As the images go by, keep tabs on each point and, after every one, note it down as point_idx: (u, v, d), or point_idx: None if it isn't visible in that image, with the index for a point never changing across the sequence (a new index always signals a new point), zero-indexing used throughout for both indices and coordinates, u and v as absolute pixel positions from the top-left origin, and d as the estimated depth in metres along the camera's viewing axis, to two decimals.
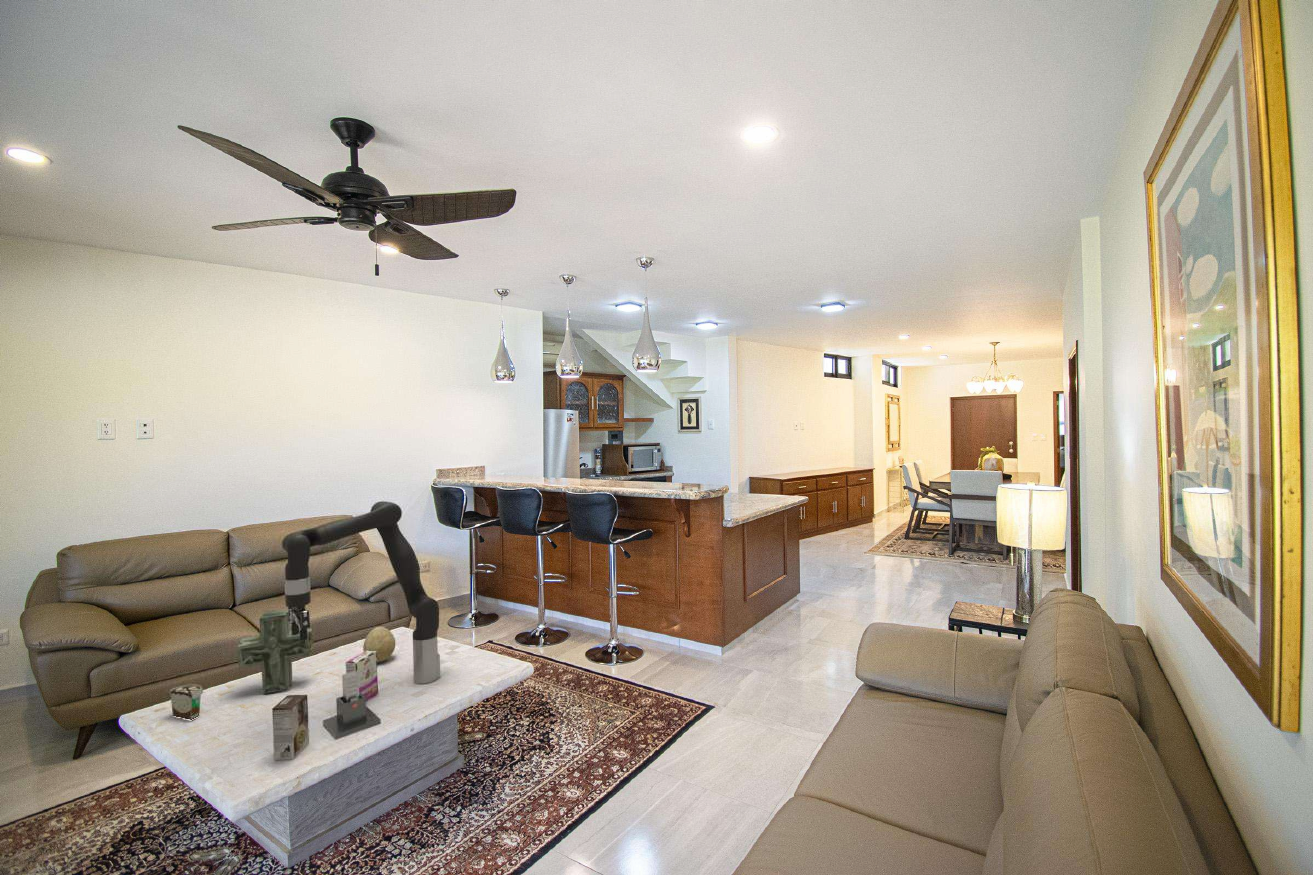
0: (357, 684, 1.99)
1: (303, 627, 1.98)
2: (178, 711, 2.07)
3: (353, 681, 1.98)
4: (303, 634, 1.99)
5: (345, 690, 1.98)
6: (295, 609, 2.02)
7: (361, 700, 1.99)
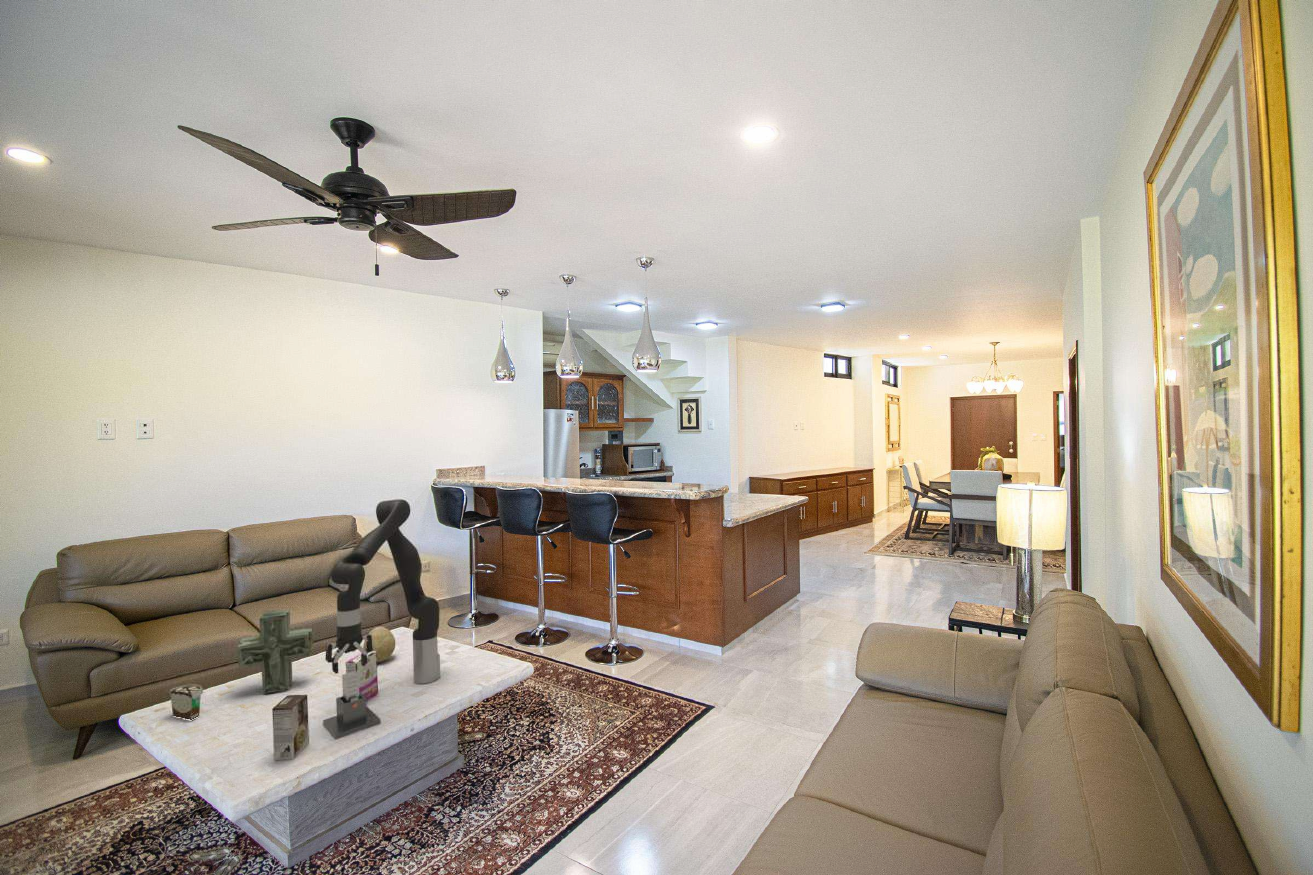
0: (357, 684, 1.99)
1: None
2: (178, 711, 2.07)
3: (353, 681, 1.98)
4: None
5: (345, 690, 1.98)
6: (352, 639, 1.99)
7: (361, 700, 1.99)
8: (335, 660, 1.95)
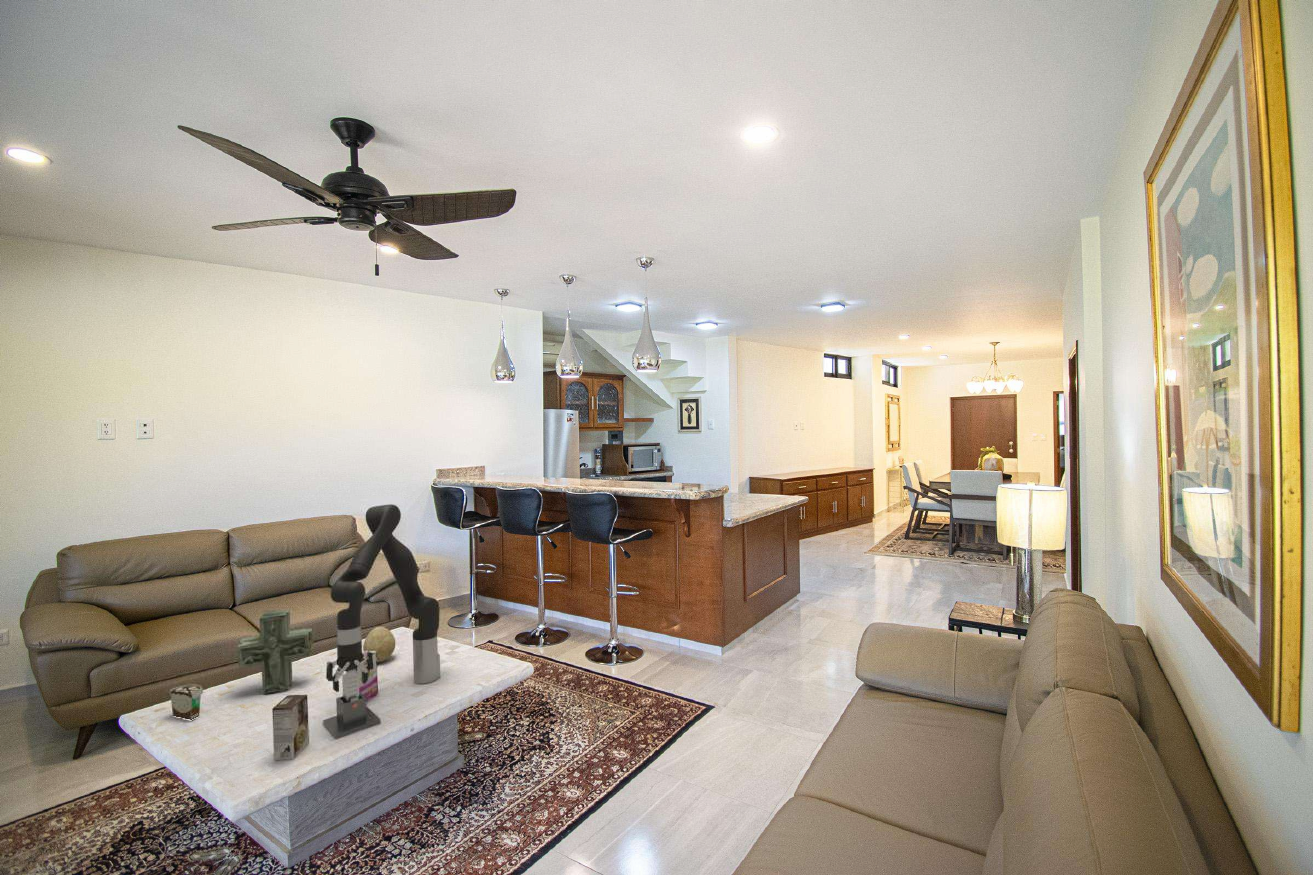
0: (357, 684, 1.99)
1: None
2: (178, 711, 2.07)
3: (353, 681, 1.98)
4: None
5: (345, 690, 1.98)
6: (353, 657, 1.99)
7: (361, 700, 1.99)
8: (336, 679, 1.95)
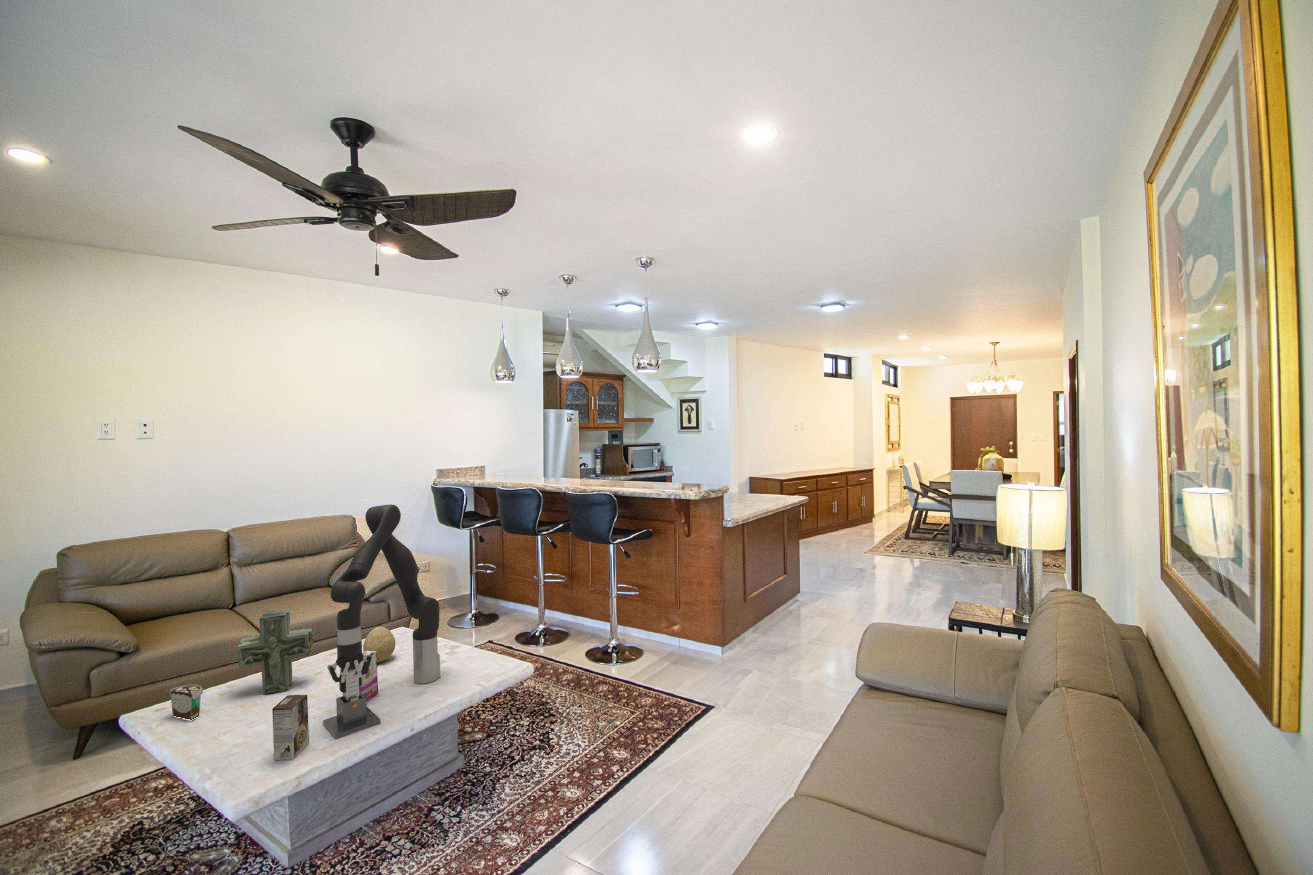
0: (357, 684, 1.99)
1: None
2: (178, 711, 2.07)
3: (353, 681, 1.98)
4: None
5: None
6: (353, 658, 1.99)
7: (361, 700, 1.99)
8: (342, 680, 1.97)
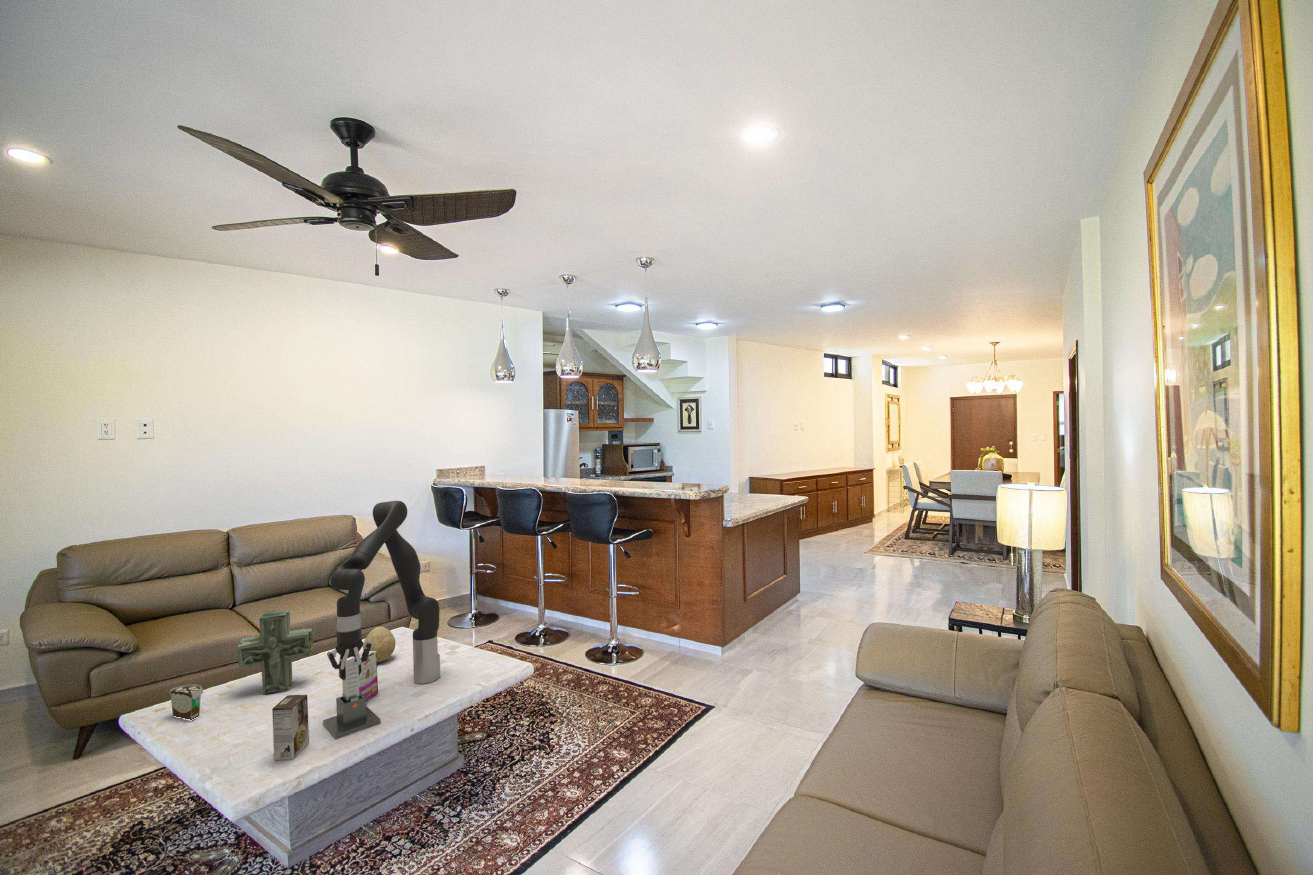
0: (357, 671, 1.99)
1: None
2: (178, 711, 2.07)
3: (353, 668, 1.98)
4: None
5: (345, 677, 1.98)
6: (352, 645, 1.99)
7: (361, 700, 1.99)
8: (342, 667, 1.97)
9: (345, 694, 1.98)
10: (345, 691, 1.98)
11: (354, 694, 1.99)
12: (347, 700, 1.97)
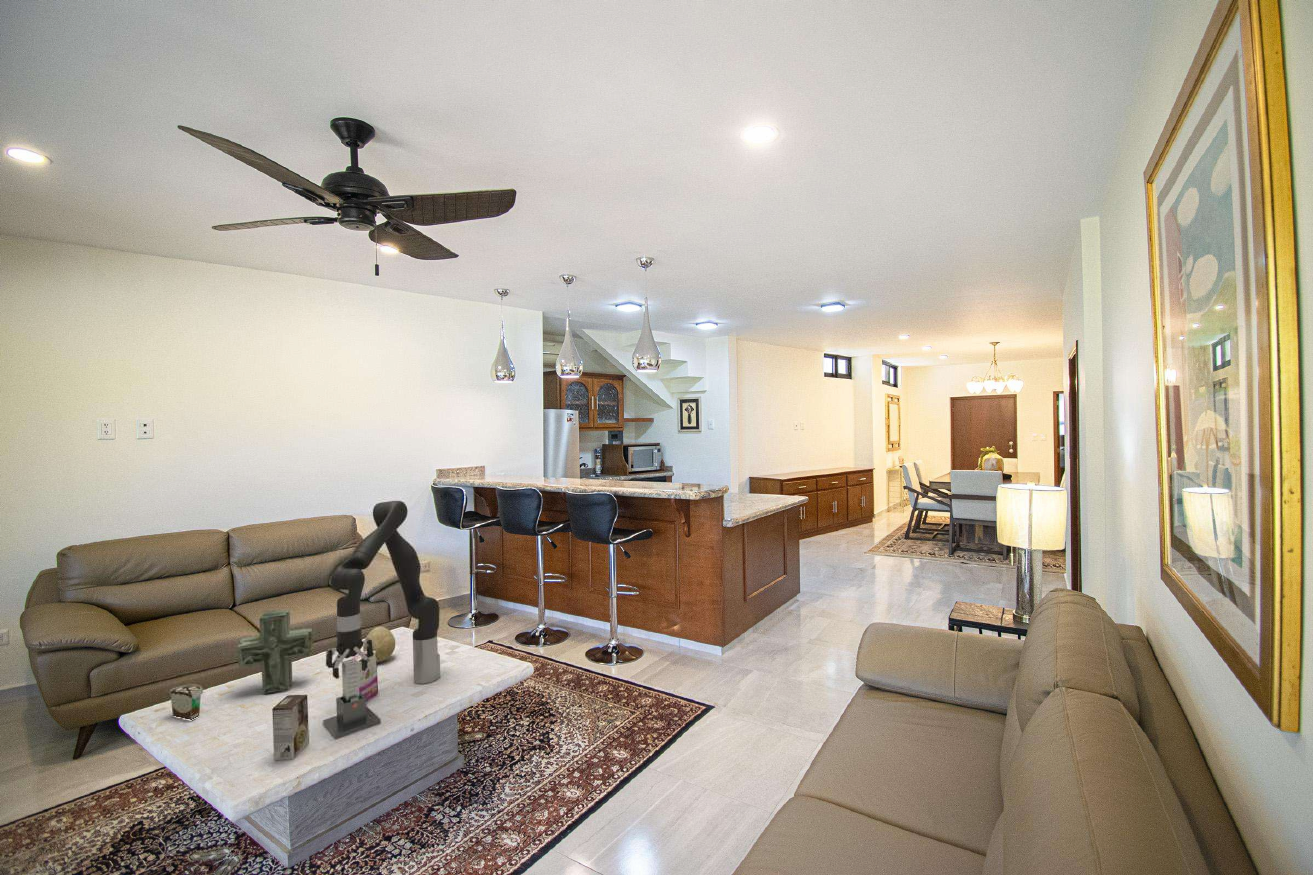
0: (357, 671, 1.99)
1: None
2: (178, 711, 2.07)
3: (353, 668, 1.98)
4: None
5: (345, 677, 1.98)
6: (352, 645, 1.99)
7: (361, 700, 1.99)
8: (335, 665, 1.95)
9: (345, 694, 1.98)
10: (345, 691, 1.98)
11: (354, 694, 1.99)
12: (347, 700, 1.97)
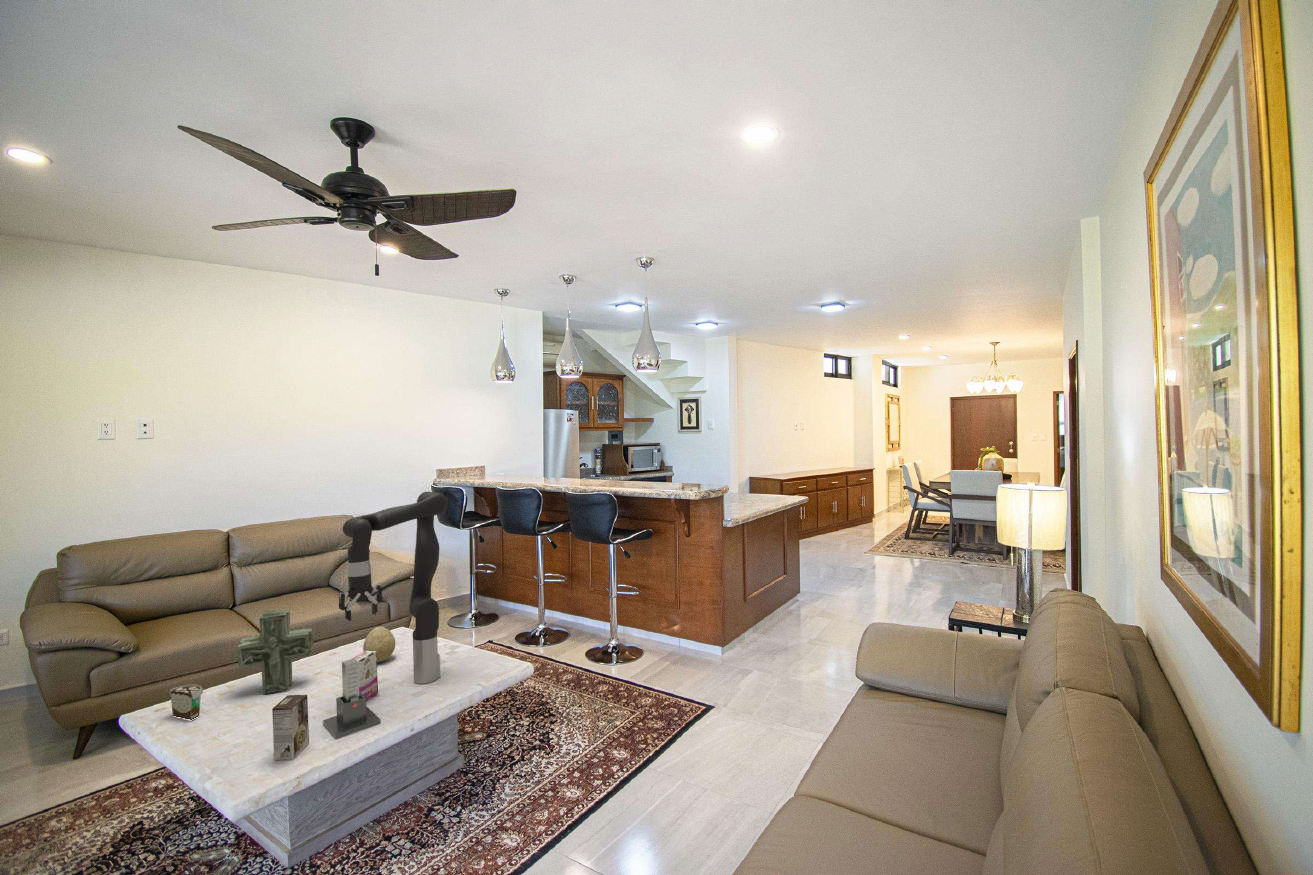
0: (357, 671, 1.99)
1: None
2: (178, 711, 2.07)
3: (353, 668, 1.98)
4: None
5: (345, 677, 1.98)
6: (363, 589, 2.12)
7: (361, 700, 1.99)
8: (348, 608, 2.09)
9: (345, 694, 1.98)
10: (345, 691, 1.98)
11: (354, 694, 1.99)
12: (347, 700, 1.97)
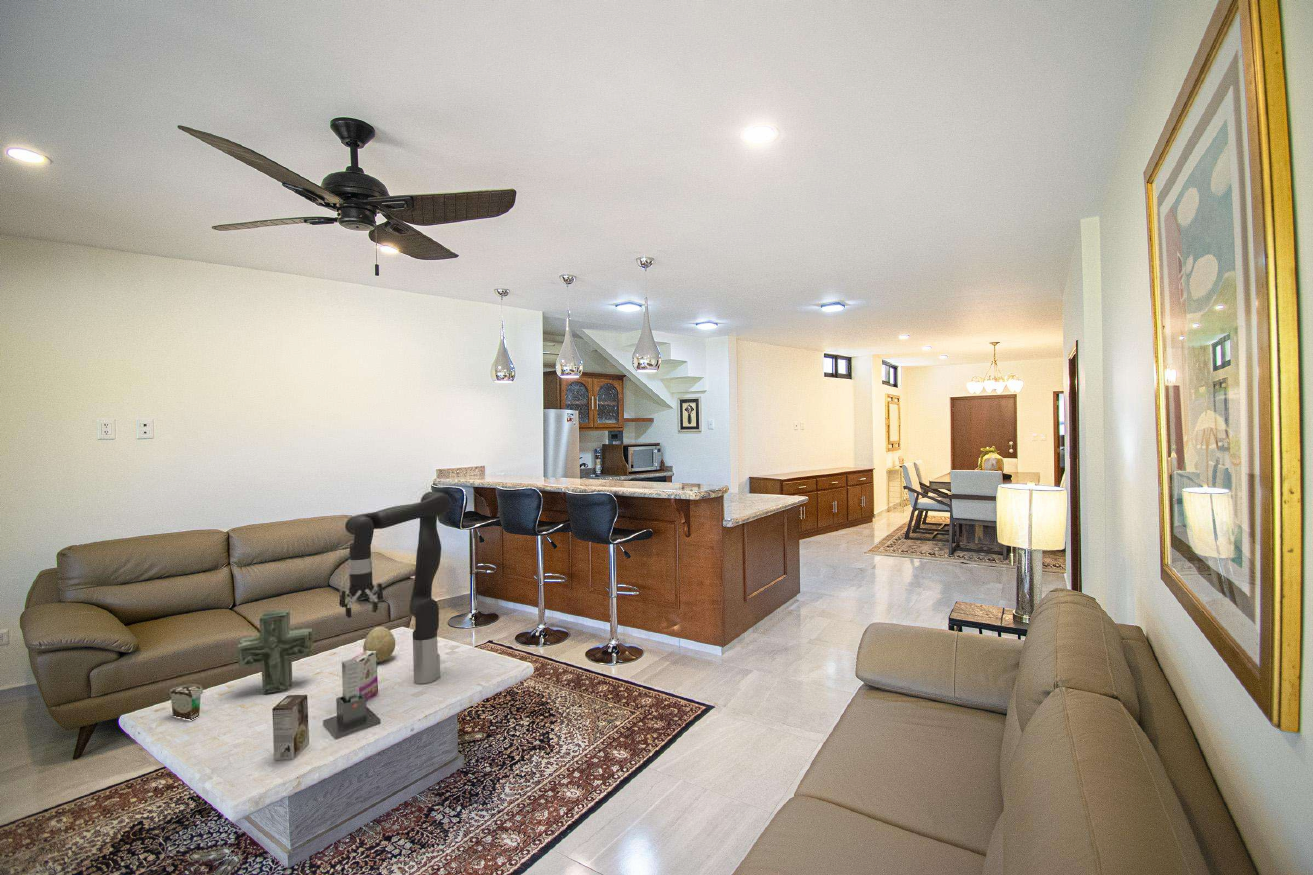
0: (357, 671, 1.99)
1: None
2: (178, 711, 2.07)
3: (353, 668, 1.98)
4: None
5: (345, 677, 1.98)
6: (364, 587, 2.13)
7: (361, 700, 1.99)
8: (348, 605, 2.09)
9: (345, 694, 1.98)
10: (345, 691, 1.98)
11: (354, 694, 1.99)
12: (347, 700, 1.97)
